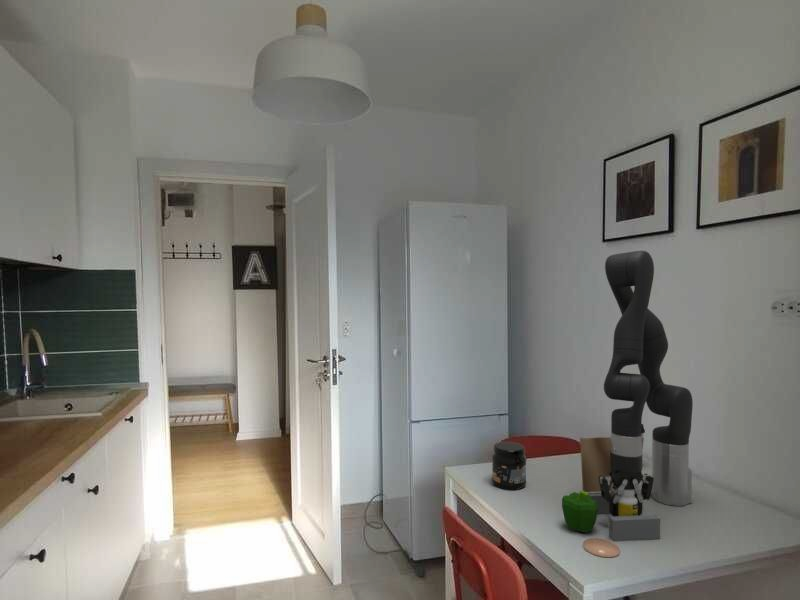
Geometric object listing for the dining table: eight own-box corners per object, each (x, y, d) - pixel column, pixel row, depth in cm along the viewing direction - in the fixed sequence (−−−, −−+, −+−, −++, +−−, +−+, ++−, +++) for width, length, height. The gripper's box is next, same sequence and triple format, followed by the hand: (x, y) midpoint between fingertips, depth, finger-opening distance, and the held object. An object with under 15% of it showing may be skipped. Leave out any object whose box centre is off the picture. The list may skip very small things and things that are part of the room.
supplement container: (488, 477, 157) (488, 441, 157) (520, 477, 158) (521, 440, 157) (496, 491, 147) (496, 451, 147) (530, 490, 147) (530, 451, 147)
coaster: (608, 539, 118) (608, 537, 118) (626, 557, 111) (626, 555, 111) (577, 540, 118) (577, 538, 118) (592, 558, 110) (593, 556, 110)
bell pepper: (557, 520, 128) (557, 483, 128) (587, 519, 128) (587, 482, 128) (570, 536, 120) (570, 496, 119) (602, 535, 120) (603, 495, 120)
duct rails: (624, 509, 134) (624, 491, 134) (660, 538, 119) (660, 518, 118) (582, 511, 133) (582, 493, 133) (612, 541, 118) (613, 520, 117)
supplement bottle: (636, 532, 121) (636, 493, 121) (612, 527, 124) (612, 489, 124) (638, 523, 126) (638, 486, 126) (615, 518, 129) (616, 481, 129)
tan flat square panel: (626, 490, 133) (624, 489, 134) (623, 437, 135) (621, 436, 136) (584, 492, 132) (582, 491, 133) (581, 438, 134) (579, 437, 135)
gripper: (644, 445, 129) (643, 508, 129) (592, 446, 128) (591, 510, 128) (661, 454, 122) (661, 521, 122) (606, 456, 120) (606, 524, 121)
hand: (625, 515), depth 125 cm, fingers closed on supplement bottle, 5 cm apart
